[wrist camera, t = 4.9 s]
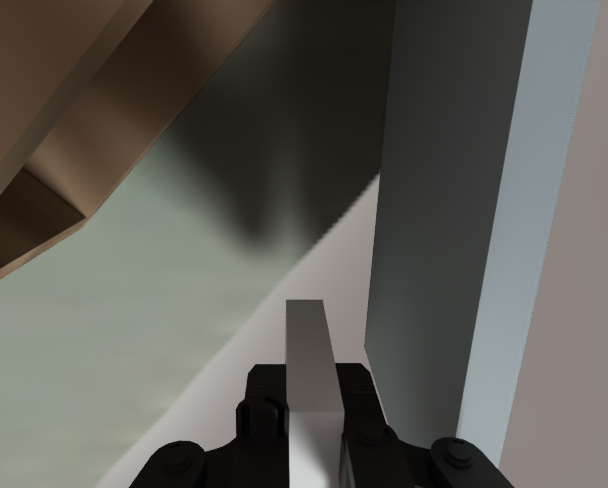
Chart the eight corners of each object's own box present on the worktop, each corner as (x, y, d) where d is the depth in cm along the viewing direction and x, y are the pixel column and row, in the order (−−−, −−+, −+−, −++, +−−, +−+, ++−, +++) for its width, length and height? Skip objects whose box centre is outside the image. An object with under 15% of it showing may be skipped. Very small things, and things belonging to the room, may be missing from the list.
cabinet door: (408, -128, 16) (628, -536, 6) (482, -123, 16) (830, -512, 6) (364, 346, 22) (432, 564, 12) (419, 347, 22) (534, 563, 12)
